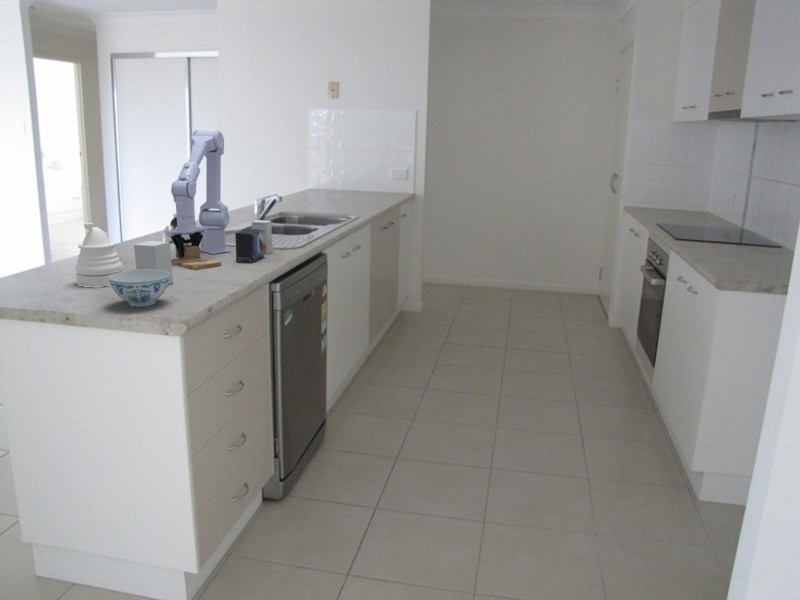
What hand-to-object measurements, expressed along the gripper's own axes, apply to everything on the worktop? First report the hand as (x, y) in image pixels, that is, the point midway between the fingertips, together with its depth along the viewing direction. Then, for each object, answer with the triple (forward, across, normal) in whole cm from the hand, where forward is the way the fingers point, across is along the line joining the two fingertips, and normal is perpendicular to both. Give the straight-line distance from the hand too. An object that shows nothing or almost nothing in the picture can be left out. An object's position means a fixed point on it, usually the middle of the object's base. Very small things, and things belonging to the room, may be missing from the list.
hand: (188, 255), depth 227 cm
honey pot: (+3, -34, -8) cm, 35 cm away
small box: (+3, +18, -11) cm, 21 cm away
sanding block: (+1, 0, 0) cm, 1 cm away
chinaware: (+3, -37, -39) cm, 54 cm away
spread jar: (+3, +19, +39) cm, 44 cm away
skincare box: (+3, +29, -3) cm, 29 cm away
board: (+2, 0, -4) cm, 5 cm away
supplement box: (+3, -24, -22) cm, 33 cm away
